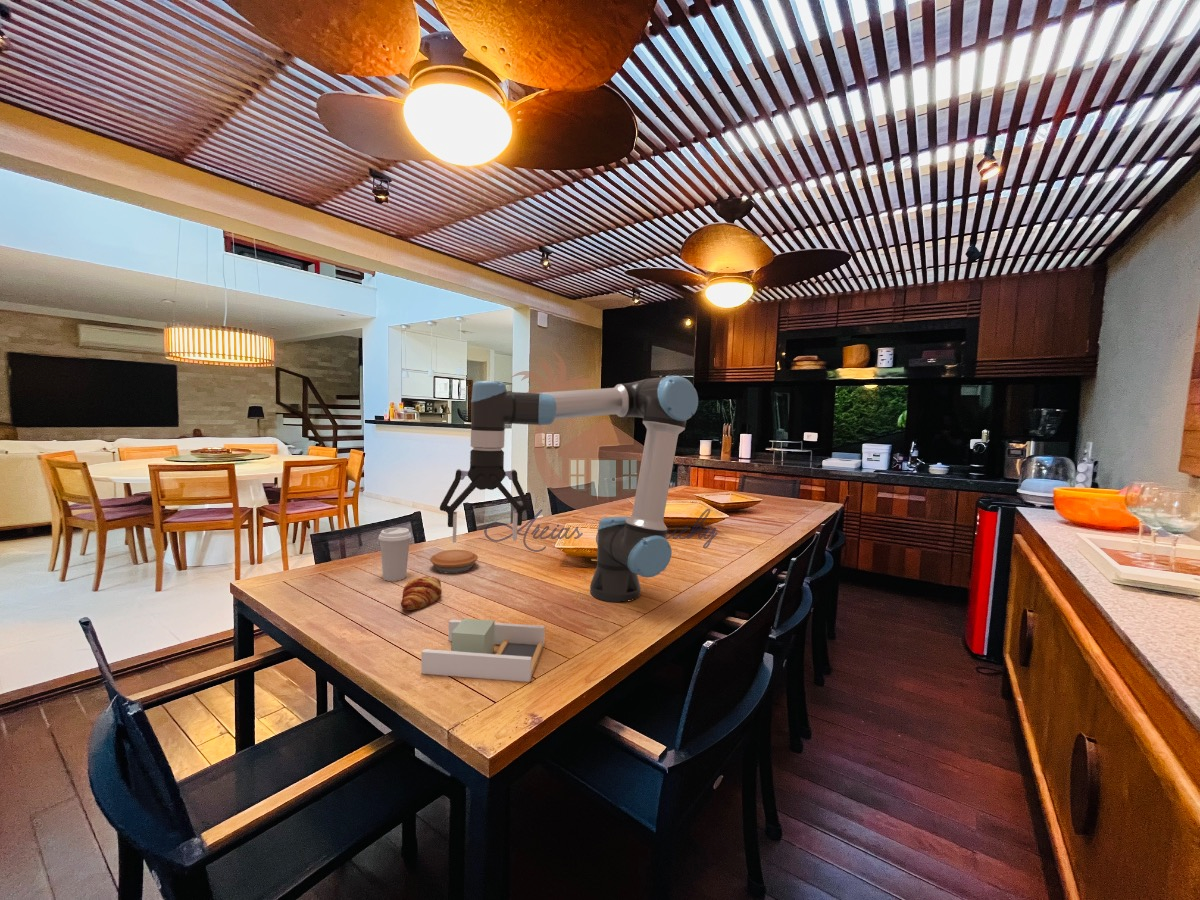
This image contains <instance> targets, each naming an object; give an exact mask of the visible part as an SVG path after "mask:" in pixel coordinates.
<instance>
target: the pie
mask: <svg viewBox="0 0 1200 900" xmlns="http://www.w3.org/2000/svg"><path fill="white" fill-rule="evenodd" d="M478 558H479V556H478V555H477V554H476V553H474V552H472V551H469V550H466V549H448V550H443V551H439V552H438V553H436V554H433V555H432V556H431V557H430V558H429V562H431V564H432V565H433V566H434V567H435V569H436V570H437V571H438V572H440V571H441V572H440V573H443V572H447V573H446V574H457V573H456V572H460V573H463V572H462V571H464V572H467V571H469V570H471V568H472V567H473V565H474V564H475V563H476V562H477V560H478ZM468 569H469V570H468ZM466 570H467V571H466Z"/></svg>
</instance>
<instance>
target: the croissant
mask: <svg viewBox="0 0 1200 900" xmlns="http://www.w3.org/2000/svg"><path fill="white" fill-rule="evenodd" d="M441 582H442V581H441V578H437V577H434V576H433V577H432V576H422V577H417V578H416V577H415V578H413V579H411V580H409V581H408V582H407V583H406V585H405V586H404V587H403V590H402V598H401V601H400V606H401V608H402V609H403V610H405V611H410V610H418V609H423V608H424V607H427V606H429V605H431V604H432V603H434V602H435V601H436V600H438V598H440V597H441V596H442V592H443V591H442V584H441Z"/></svg>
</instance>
